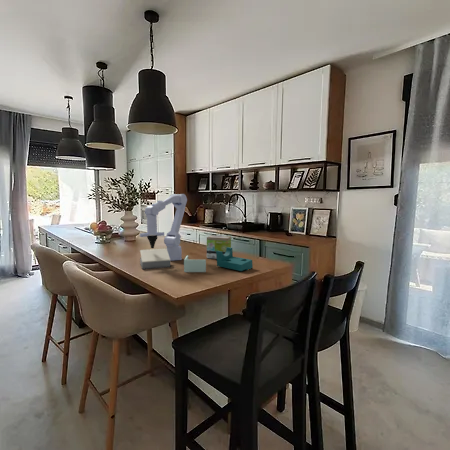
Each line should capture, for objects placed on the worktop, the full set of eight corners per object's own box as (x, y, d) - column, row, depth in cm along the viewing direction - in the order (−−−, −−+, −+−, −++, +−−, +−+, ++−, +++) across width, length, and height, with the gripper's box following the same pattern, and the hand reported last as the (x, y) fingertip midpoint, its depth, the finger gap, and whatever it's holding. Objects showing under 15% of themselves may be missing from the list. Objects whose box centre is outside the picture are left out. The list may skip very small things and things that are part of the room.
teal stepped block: (217, 268, 167) (216, 251, 166) (228, 263, 176) (227, 247, 174) (241, 273, 156) (240, 255, 154) (252, 268, 164) (251, 250, 162)
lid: (166, 249, 179) (166, 248, 178) (170, 260, 167) (170, 259, 166) (140, 250, 173) (140, 250, 173) (142, 262, 161) (142, 261, 161)
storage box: (166, 262, 180) (166, 255, 180) (170, 267, 167) (170, 260, 167) (140, 264, 174) (140, 257, 174) (142, 269, 161) (142, 262, 161)
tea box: (206, 258, 191) (206, 236, 189) (210, 255, 201) (210, 235, 199) (227, 259, 187) (228, 237, 186) (231, 256, 197) (231, 235, 196)
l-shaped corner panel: (205, 273, 156) (205, 259, 156) (184, 273, 156) (183, 259, 156) (206, 267, 168) (206, 255, 168) (186, 267, 168) (186, 255, 167)
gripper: (162, 224, 177) (162, 246, 179) (138, 225, 170) (138, 247, 172) (165, 225, 171) (165, 247, 172) (140, 226, 164) (141, 249, 166)
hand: (152, 248), depth 172 cm, fingers closed
